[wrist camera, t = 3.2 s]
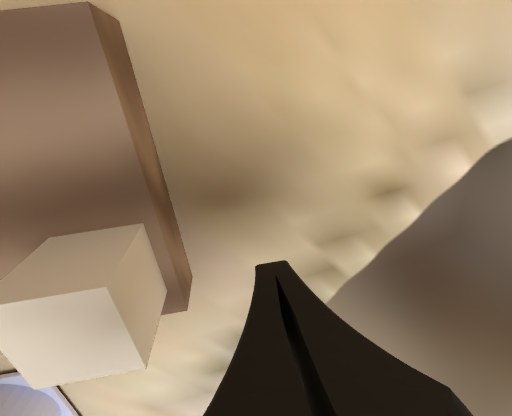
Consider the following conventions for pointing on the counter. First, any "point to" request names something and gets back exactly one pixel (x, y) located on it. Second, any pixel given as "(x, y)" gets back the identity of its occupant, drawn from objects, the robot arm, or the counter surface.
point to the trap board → (78, 140)
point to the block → (82, 307)
